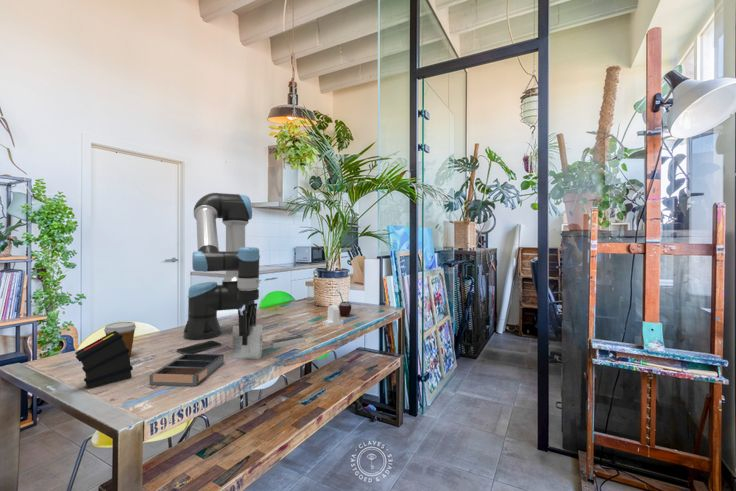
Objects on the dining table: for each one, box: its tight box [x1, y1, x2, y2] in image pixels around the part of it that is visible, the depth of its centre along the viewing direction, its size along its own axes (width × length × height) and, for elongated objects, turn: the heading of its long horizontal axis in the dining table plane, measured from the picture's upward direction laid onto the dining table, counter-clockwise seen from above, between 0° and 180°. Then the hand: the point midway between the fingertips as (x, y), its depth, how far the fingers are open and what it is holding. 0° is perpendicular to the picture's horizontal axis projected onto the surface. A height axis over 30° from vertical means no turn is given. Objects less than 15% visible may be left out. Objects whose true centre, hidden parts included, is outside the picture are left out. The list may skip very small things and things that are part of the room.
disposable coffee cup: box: [103, 321, 137, 357], centre depth 124 cm, size 10×10×12 cm
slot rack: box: [149, 353, 225, 387], centre depth 112 cm, size 14×19×3 cm
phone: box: [176, 340, 222, 355], centre depth 136 cm, size 8×1×15 cm
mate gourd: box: [336, 289, 352, 318], centre depth 197 cm, size 8×8×15 cm
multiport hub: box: [269, 334, 306, 349], centre depth 145 cm, size 4×14×2 cm, turn 130°
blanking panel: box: [231, 323, 263, 360], centre depth 128 cm, size 10×3×12 cm, turn 89°
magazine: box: [74, 331, 134, 389], centre depth 104 cm, size 4×13×15 cm, turn 140°
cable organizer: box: [322, 304, 344, 328], centre depth 178 cm, size 5×10×10 cm, turn 130°
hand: (247, 351), depth 128 cm, fingers closed on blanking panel, 3 cm apart
